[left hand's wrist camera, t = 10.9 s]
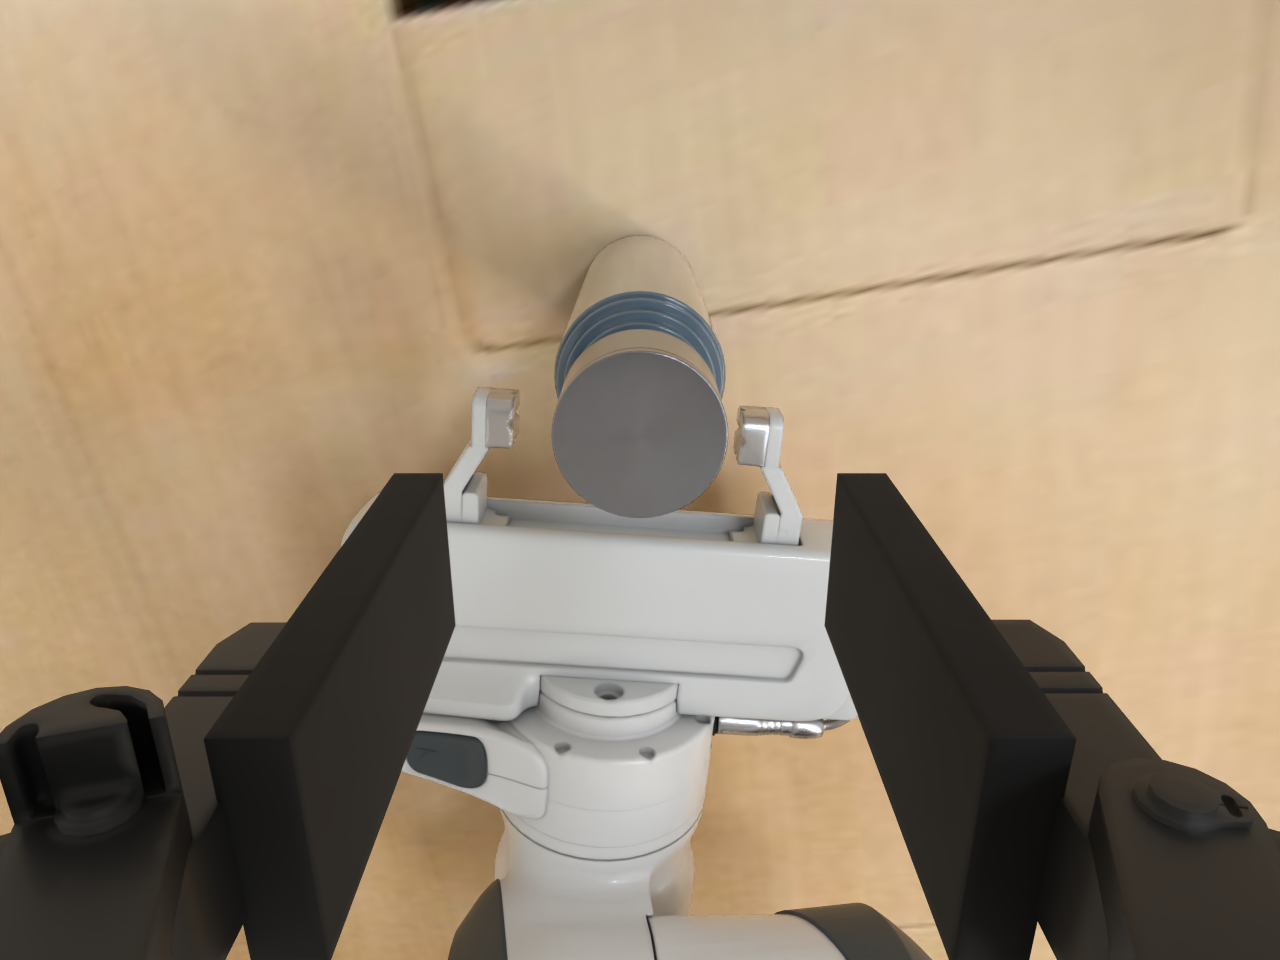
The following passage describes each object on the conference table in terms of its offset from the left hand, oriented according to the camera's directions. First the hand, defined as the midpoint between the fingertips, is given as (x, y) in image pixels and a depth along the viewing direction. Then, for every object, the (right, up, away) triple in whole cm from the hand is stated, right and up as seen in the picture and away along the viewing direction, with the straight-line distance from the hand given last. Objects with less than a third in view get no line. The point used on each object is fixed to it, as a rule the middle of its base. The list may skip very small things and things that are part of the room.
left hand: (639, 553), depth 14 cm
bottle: (0, +9, +23) cm, 25 cm away
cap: (0, +2, +6) cm, 6 cm away
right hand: (0, +4, +17) cm, 18 cm away
